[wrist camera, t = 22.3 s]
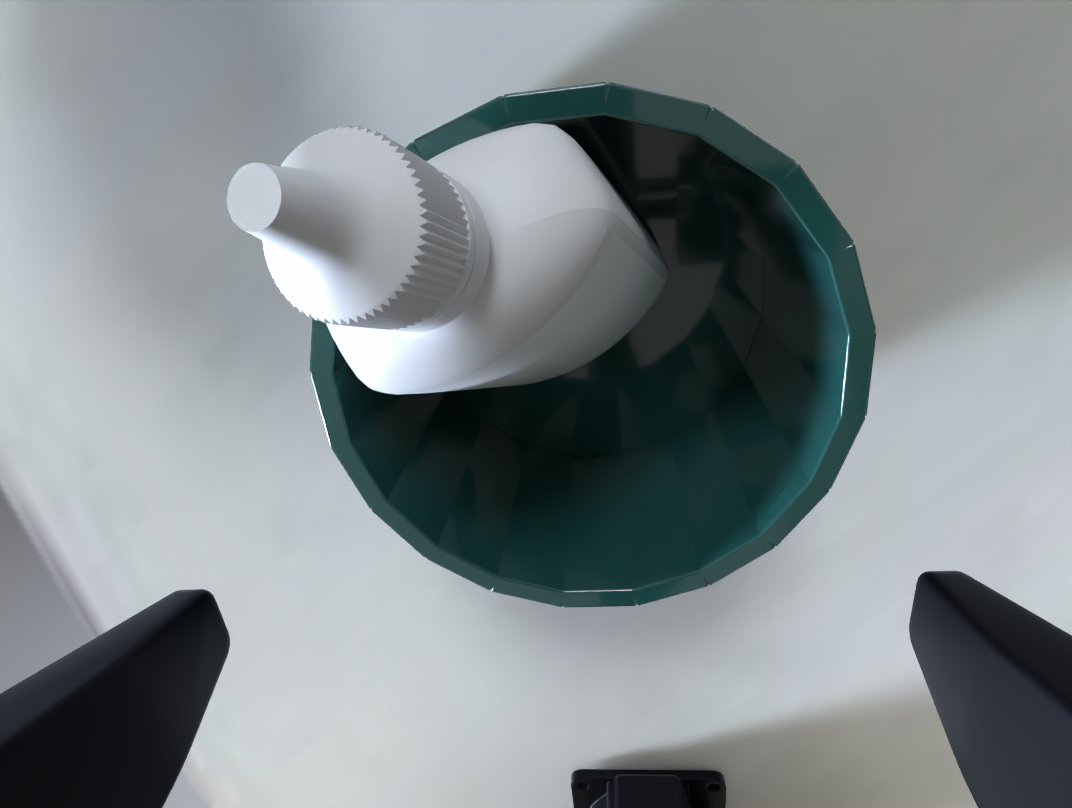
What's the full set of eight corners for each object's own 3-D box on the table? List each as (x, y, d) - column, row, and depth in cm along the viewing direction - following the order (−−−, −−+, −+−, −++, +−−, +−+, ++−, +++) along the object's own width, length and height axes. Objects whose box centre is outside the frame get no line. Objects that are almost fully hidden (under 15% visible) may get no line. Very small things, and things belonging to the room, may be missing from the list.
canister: (769, 450, 21) (845, 602, 14) (439, 466, 22) (374, 612, 16) (788, 68, 16) (912, 43, 10) (370, 119, 17) (240, 127, 11)
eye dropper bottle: (677, 374, 17) (527, 396, 6) (484, 387, 19) (78, 422, 7) (667, 209, 17) (491, -110, 5) (473, 238, 19) (42, 44, 7)
